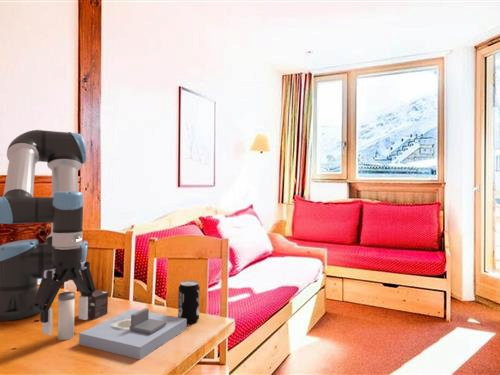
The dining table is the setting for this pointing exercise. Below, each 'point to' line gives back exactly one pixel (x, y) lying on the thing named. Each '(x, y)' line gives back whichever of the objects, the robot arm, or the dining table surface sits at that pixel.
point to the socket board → (131, 335)
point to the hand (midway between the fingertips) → (66, 325)
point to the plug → (66, 315)
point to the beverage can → (188, 301)
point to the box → (97, 304)
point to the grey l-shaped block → (145, 322)
